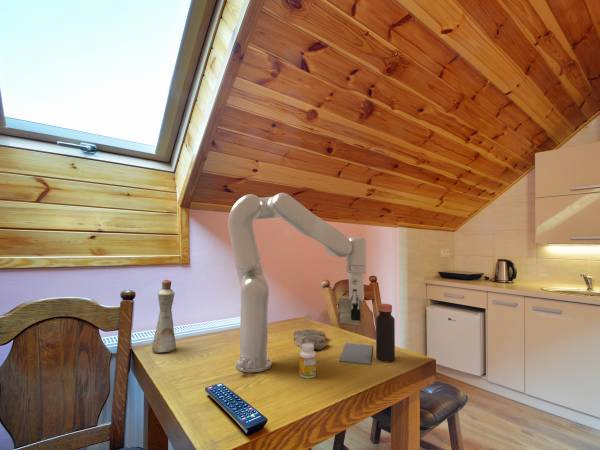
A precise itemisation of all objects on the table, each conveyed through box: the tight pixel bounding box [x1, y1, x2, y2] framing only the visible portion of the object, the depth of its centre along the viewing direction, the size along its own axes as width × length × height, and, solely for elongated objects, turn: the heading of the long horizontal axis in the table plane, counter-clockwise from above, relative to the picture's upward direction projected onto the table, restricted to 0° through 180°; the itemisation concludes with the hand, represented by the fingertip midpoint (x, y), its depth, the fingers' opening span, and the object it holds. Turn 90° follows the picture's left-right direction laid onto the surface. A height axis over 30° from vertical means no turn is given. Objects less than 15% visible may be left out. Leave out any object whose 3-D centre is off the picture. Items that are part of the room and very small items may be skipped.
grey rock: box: [293, 329, 327, 350], centre depth 133 cm, size 14×5×20 cm
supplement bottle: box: [298, 343, 317, 379], centre depth 102 cm, size 5×5×10 cm
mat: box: [339, 342, 373, 366], centre depth 122 cm, size 20×11×1 cm, turn 165°
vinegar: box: [375, 303, 396, 363], centre depth 117 cm, size 7×7×20 cm
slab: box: [338, 295, 362, 327], centre depth 118 cm, size 4×8×10 cm, turn 75°
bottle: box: [151, 278, 177, 354], centre depth 124 cm, size 9×9×28 cm
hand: (356, 317), depth 117 cm, fingers closed on slab, 4 cm apart
